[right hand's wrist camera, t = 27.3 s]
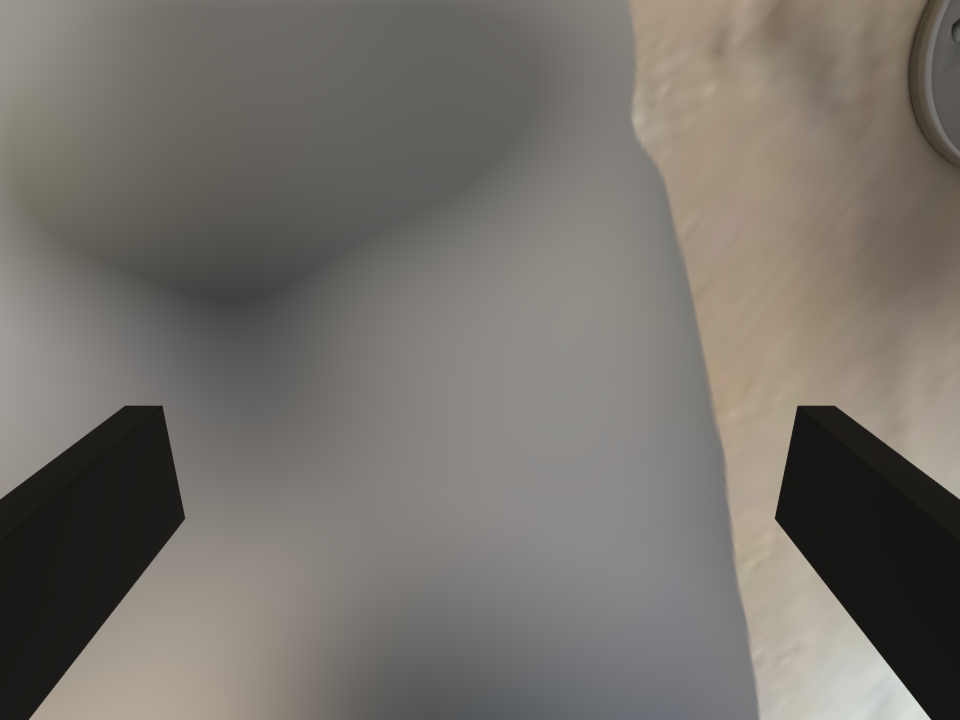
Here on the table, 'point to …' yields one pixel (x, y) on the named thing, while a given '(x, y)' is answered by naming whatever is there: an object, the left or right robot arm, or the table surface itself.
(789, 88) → the table surface
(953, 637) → the right robot arm
